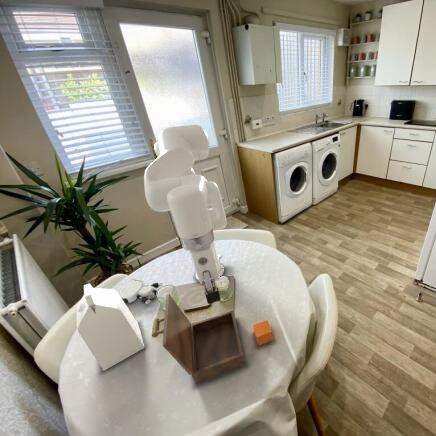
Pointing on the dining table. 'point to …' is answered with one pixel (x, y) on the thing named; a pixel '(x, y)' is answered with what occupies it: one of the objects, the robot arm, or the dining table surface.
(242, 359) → the chest
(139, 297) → the robot toy
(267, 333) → the orange cube
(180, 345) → the chest lid
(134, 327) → the milk
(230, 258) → the dining table surface
